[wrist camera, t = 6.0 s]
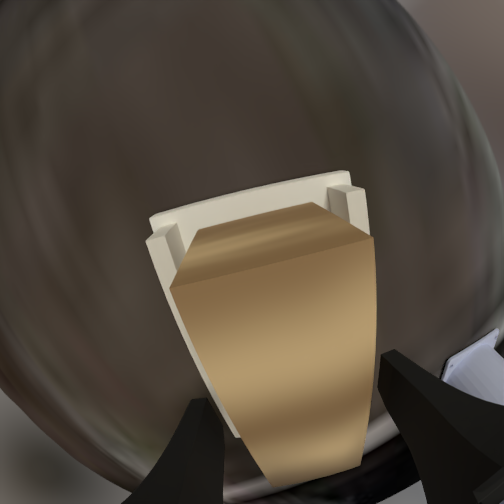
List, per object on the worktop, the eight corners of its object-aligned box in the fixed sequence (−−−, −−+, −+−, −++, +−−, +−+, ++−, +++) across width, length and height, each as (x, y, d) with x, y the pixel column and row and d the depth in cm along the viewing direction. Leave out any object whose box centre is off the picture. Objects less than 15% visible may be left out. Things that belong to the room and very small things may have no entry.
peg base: (356, 376, 17) (372, 407, 14) (230, 406, 17) (231, 442, 14) (341, 170, 12) (371, 174, 9) (155, 214, 12) (132, 230, 9)
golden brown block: (335, 400, 14) (359, 465, 9) (264, 418, 14) (272, 487, 9) (311, 201, 10) (373, 238, 5) (197, 229, 10) (169, 288, 6)
